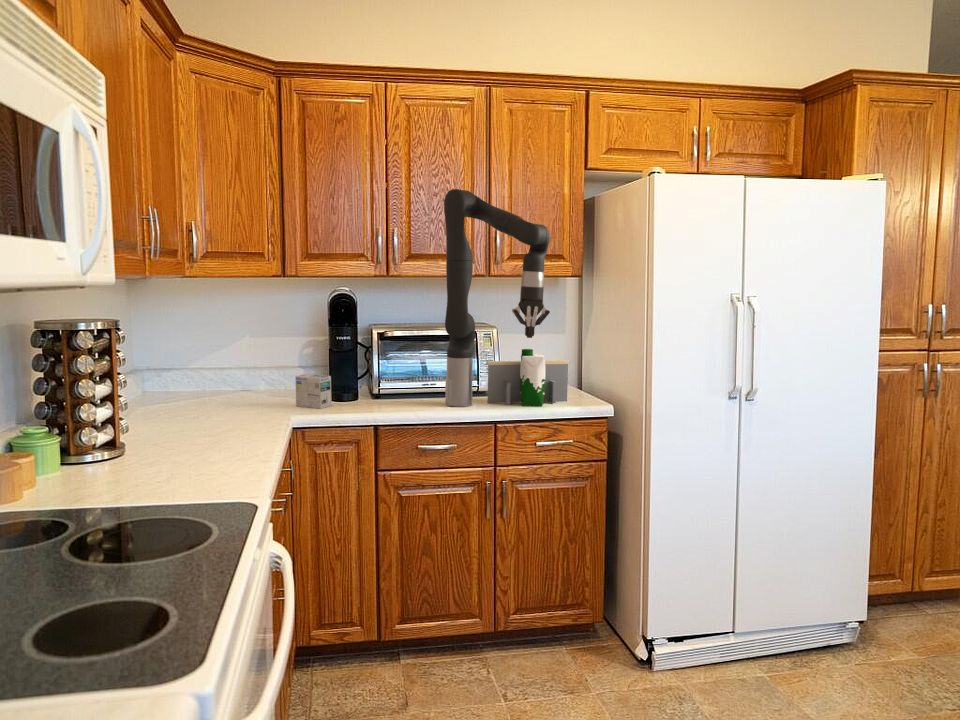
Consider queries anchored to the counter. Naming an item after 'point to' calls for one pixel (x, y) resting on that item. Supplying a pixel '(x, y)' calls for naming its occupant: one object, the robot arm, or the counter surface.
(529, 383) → the soya milk
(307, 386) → the light bulb box
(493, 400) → the grey backboard
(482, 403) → the counter surface
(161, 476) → the counter surface
